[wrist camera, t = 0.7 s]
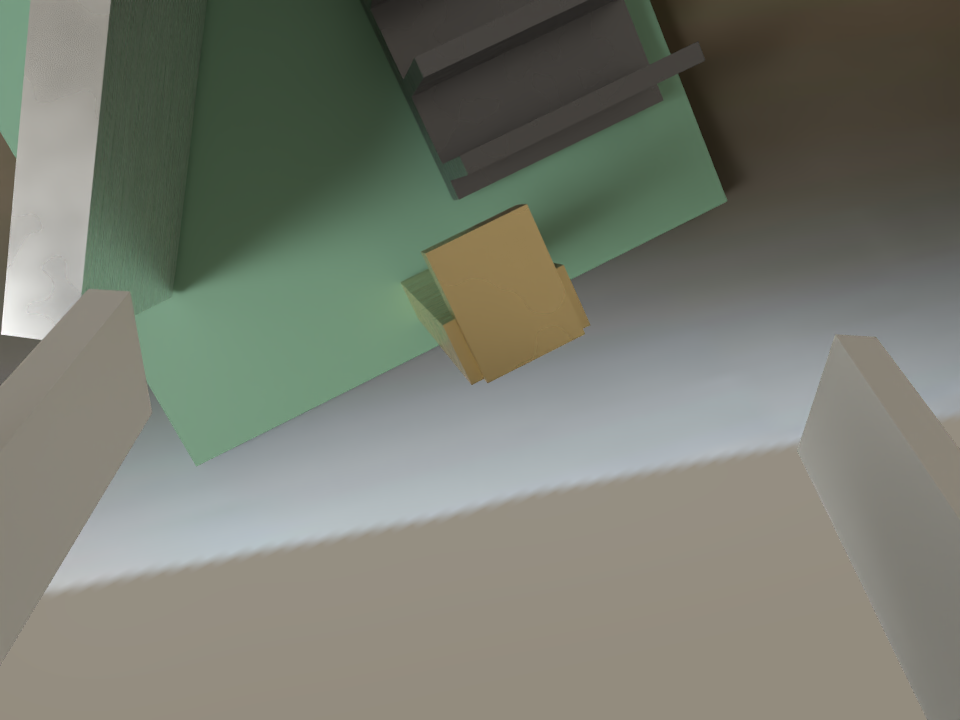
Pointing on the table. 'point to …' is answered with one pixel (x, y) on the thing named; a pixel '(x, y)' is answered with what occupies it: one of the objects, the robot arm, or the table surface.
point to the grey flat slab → (100, 155)
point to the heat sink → (509, 151)
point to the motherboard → (349, 210)
